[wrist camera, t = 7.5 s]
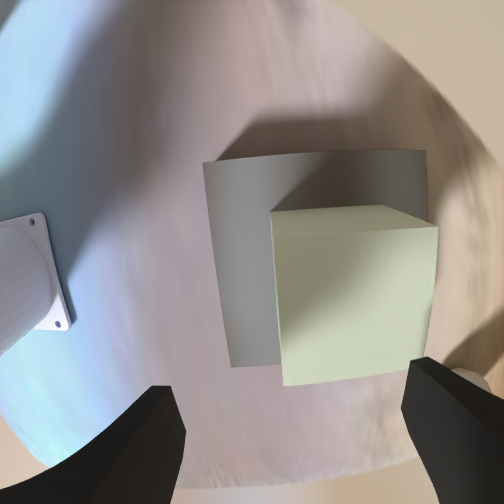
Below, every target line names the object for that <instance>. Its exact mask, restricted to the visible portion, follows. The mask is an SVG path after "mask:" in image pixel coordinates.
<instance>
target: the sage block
mask: <svg viewBox="0 0 504 504" xmlns="http://www.w3.org/2000/svg"><path fill="white" fill-rule="evenodd" d="M270 221H271V234H272V246H273V260H274V273H275V287H276V301H277V316H278V328H279V339H280V351H281V362H282V374H283V386H293V385H304V384H314V383H323V382H331V381H339V380H346V379H353V378H360V377H366V376H372V375H378V374H384V373H389V372H395V371H400V370H405V369H409V364H410V360H414V359H418V358H423V356H424V351H425V345H426V340H427V334H428V328H429V322H430V316H431V309H432V301H433V293H434V284H435V274H436V262H437V248H438V226H436V225H433V224H431V223H428V222H426V221H423V220H421V219H418V218H416V217H413V216H411V215H408V214H406V213H403V212H400V211H398V210H395V209H392V208H390V207H387V206H384V205H367V206H348V207H332V208H316V209H302V210H288V211H275V212H270Z"/></svg>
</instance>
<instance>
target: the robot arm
mask: <svg viewBox="0 0 504 504" xmlns="http://www.w3.org/2000/svg"><path fill="white" fill-rule="evenodd" d="M33 220H34V222H35V224H33ZM58 321H59V322H60V324H61V325H60V324H59V323H58ZM71 326H72V324H71V320H70V317H69V314H68V310H67V307H66V304H65V300H64V297H63V293H62V290H61V286H60V282H59V279H58V275H57V271H56V267H55V263H54V258H53V254H52V249H51V245H50V240H49V235H48V230H47V224H46V219H45V216H44V215H43V214H42V213H35V214H30V215H26V216H22V217H18V218H14V219H10V220H6V221H2V222H0V356H1V355H3V354H4V353H5V352H6V351H7V350H8V349H9V348H11V347H12V346H13V345H14V344H15V343H16V342H17V341H19V340H20V339H21V338H22V337H23V336H25V335H26V334H27V333H28V332H29V331H30V330H32V329H37V330H59V331H67V330H69V329H70V328H71ZM401 411H402V414H403V417H404V420H405V423H406V426H407V429H408V432H409V435H410V437H411V439H412V441H413V443H414V445H415V448H416V450H417V452H418V454H419V456H420V458H421V460H422V462H423V464H424V466H425V468H426V471H427V473H428V475H429V477H430V479H431V481H432V483H433V486H434V488H435V491H436V494H437V496H438V500H439V503H440V504H504V400H503V399H501V398H499V397H497V396H495V395H493V394H491V393H489V392H488V391H486V390H484V389H482V388H480V387H479V386H477V385H475V384H473V383H472V382H470V381H468V380H467V379H465V378H463V377H462V376H460V375H458V374H457V373H455V372H453V371H452V370H450V369H448V368H447V367H445V366H443V365H442V364H440V363H438V362H437V361H435V360H433V359H431V358H429V357H423V358H418V359H414V360H410V364H409V370H408V376H407V381H406V386H405V391H404V396H403V401H402V405H401ZM185 436H186V429H185V427H184V424H183V421H182V418H181V415H180V413H179V410H178V407H177V404H176V401H175V398H174V395H173V392H172V389H171V386H151V387H150V388H149V389H148V390H147V391H146V392H144V393H143V394H142V395H141V396H140V397H139V398H138V399H137V400H136V401H135V402H134V403H133V404H132V405H131V406H130V407H129V408H128V409H127V410H126V411H125V412H124V413H123V414H121V415H120V416H119V417H118V418H117V419H116V420H115V421H114V422H113V423H112V424H111V425H110V426H108V427H107V428H106V429H105V430H104V431H102V432H101V433H100V434H99V435H98V436H96V437H95V438H94V439H93V440H91V441H90V442H89V443H88V444H87V445H85V446H84V447H83V448H81V449H80V450H79V451H77V452H76V453H74V454H73V455H71V456H70V457H68V458H67V459H65V460H64V461H62V462H60V463H59V464H57V465H55V466H54V467H52V468H50V469H48V470H46V471H44V472H42V473H40V474H38V475H36V476H34V477H32V478H30V479H28V480H25V481H23V482H20V483H18V484H15V485H12V486H10V487H7V488H3V489H0V504H170V502H171V499H172V495H173V491H174V488H175V484H176V481H177V477H178V474H179V470H180V466H181V463H182V459H183V452H184V445H185Z"/></svg>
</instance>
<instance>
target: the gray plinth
mask: <svg viewBox="0 0 504 504" xmlns="http://www.w3.org/2000/svg"><path fill="white" fill-rule="evenodd" d="M203 172H204V180H205V189H206V197H207V205H208V213H209V221H210V229H211V237H212V244H213V252H214V259H215V266H216V273H217V280H218V287H219V294H220V300H221V307H222V314H223V320H224V326H225V333H226V339H227V345H228V351H229V357H230V363H231V367H249V366H265V365H277V364H282V362H281V351H280V339H279V328H278V316H277V301H276V287H275V273H274V260H273V246H272V234H271V221H270V212H275V211H288V210H302V209H316V208H332V207H348V206H367V205H384V206H387V207H390V208H392V209H395V210H398V211H400V212H403V213H406V214H408V215H411V216H413V217H416V218H418V219H421V220H423V221H426V222H428V191H427V167H426V152H425V150H351V151H326V152H308V153H293V154H280V155H269V156H258V157H248V158H239V159H230V160H221V161H213V162H205V163H203Z"/></svg>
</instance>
